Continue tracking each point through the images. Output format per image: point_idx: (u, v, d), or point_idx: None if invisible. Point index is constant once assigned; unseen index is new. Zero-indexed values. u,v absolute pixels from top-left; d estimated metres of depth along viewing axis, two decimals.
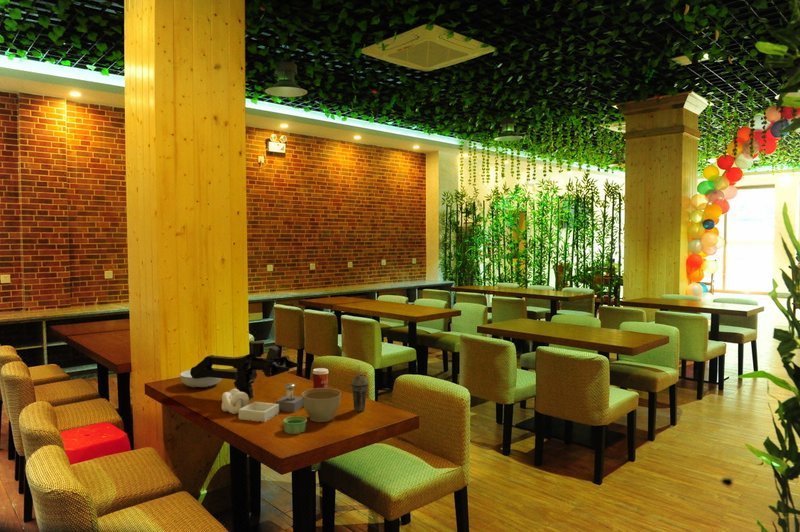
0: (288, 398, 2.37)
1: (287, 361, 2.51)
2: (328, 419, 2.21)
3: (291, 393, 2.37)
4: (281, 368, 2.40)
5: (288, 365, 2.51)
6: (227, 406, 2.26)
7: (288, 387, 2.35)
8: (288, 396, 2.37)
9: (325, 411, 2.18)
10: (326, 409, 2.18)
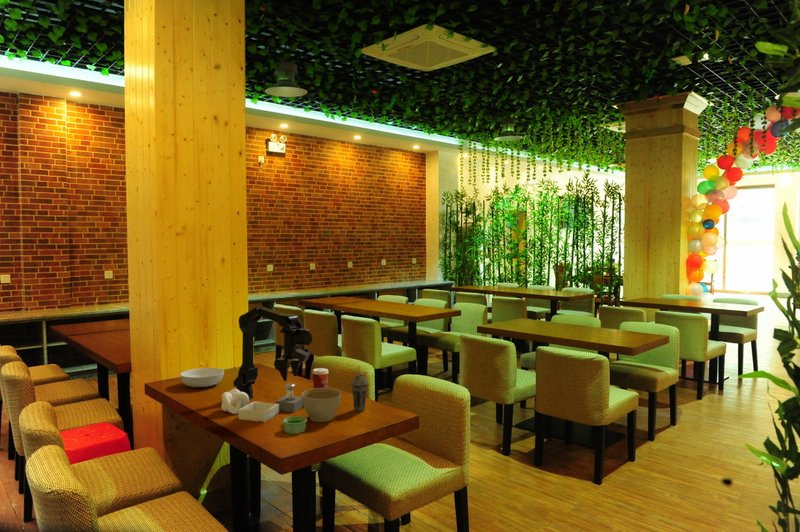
0: (288, 398, 2.37)
1: (297, 363, 2.42)
2: (328, 419, 2.21)
3: (291, 393, 2.37)
4: (284, 374, 2.32)
5: (293, 364, 2.42)
6: (227, 406, 2.26)
7: (288, 387, 2.35)
8: (288, 396, 2.37)
9: (325, 411, 2.18)
10: (326, 409, 2.18)
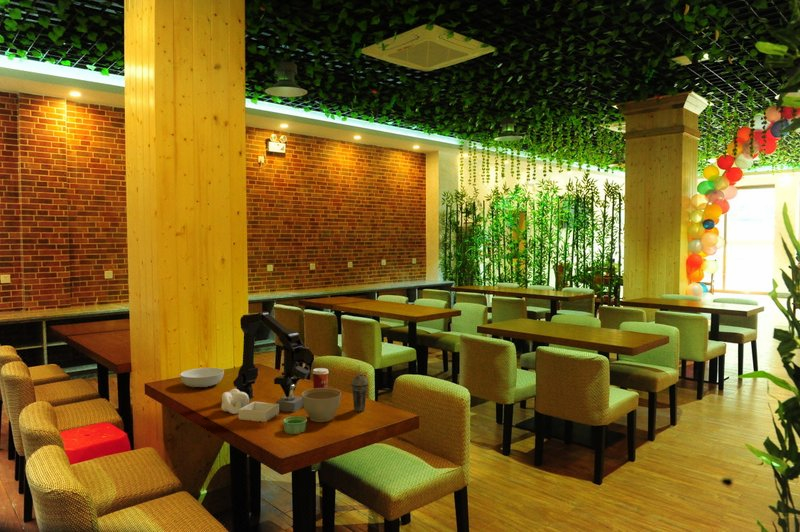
0: (288, 398, 2.37)
1: (295, 381, 2.40)
2: (328, 419, 2.21)
3: (291, 393, 2.37)
4: (287, 390, 2.35)
5: (291, 382, 2.40)
6: (227, 406, 2.26)
7: None
8: None
9: (325, 411, 2.18)
10: (326, 409, 2.18)
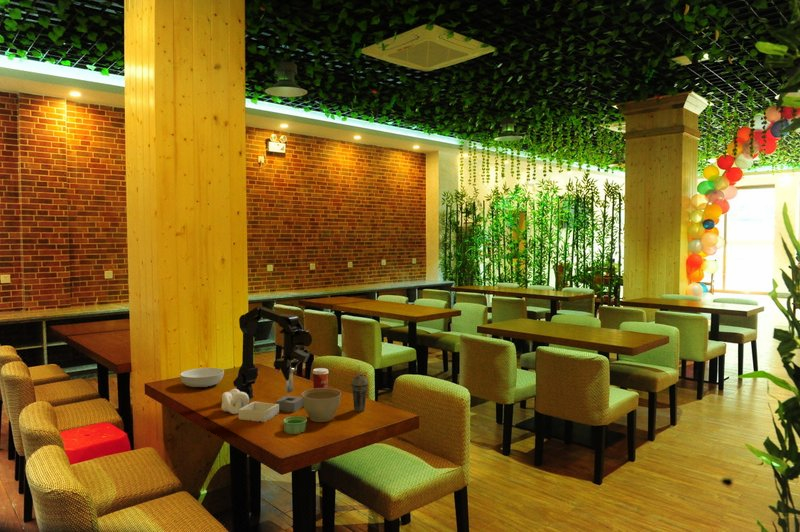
0: (288, 381, 2.36)
1: (294, 364, 2.39)
2: (328, 419, 2.21)
3: (291, 377, 2.36)
4: (286, 373, 2.34)
5: None
6: (227, 406, 2.26)
7: None
8: None
9: (325, 411, 2.18)
10: (326, 409, 2.18)
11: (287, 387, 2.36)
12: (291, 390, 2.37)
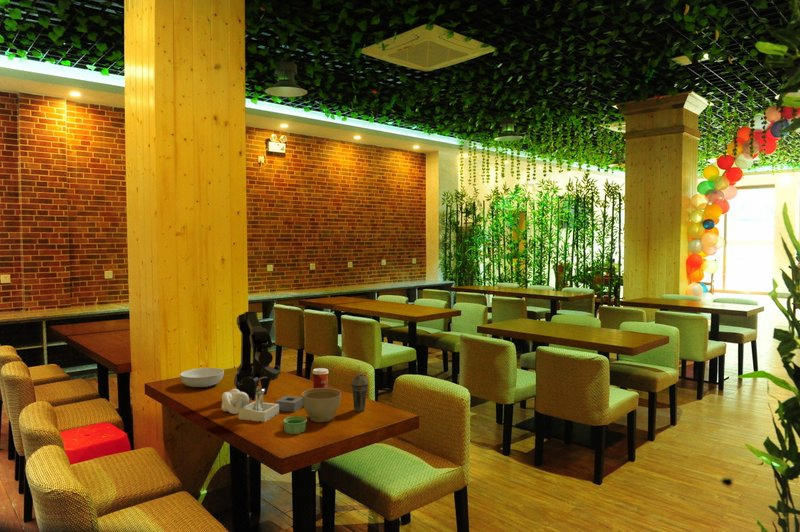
0: (257, 403, 2.25)
1: (267, 380, 2.31)
2: (328, 419, 2.21)
3: (261, 398, 2.25)
4: (253, 393, 2.21)
5: (263, 381, 2.31)
6: (227, 406, 2.26)
7: (257, 392, 2.24)
8: (257, 401, 2.25)
9: (325, 411, 2.18)
10: (326, 409, 2.18)
11: (256, 409, 2.25)
12: None
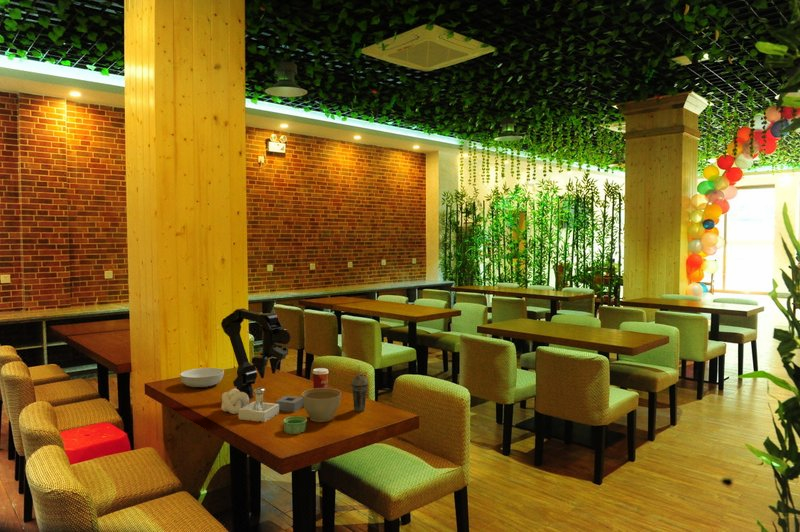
0: (257, 403, 2.25)
1: (276, 360, 2.48)
2: (328, 419, 2.21)
3: (260, 398, 2.25)
4: (262, 371, 2.38)
5: (272, 361, 2.48)
6: (227, 406, 2.26)
7: (257, 391, 2.24)
8: (257, 401, 2.25)
9: (325, 411, 2.18)
10: (326, 409, 2.18)
11: (256, 409, 2.25)
12: None
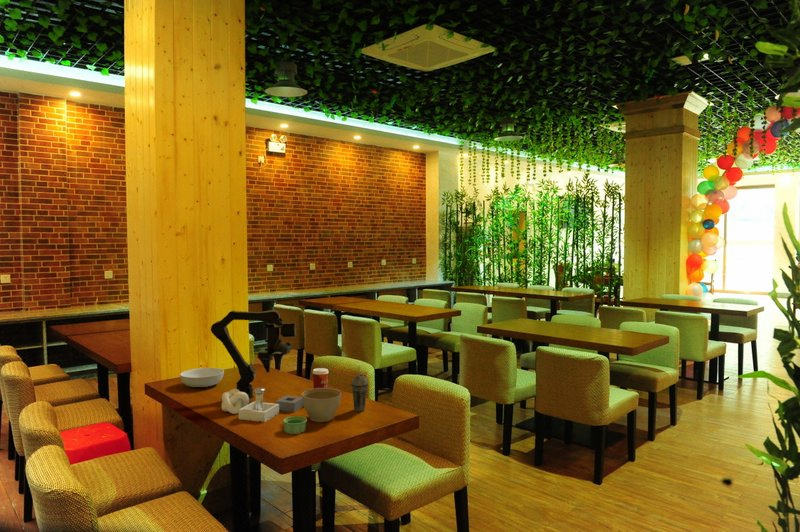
0: (257, 403, 2.25)
1: (280, 355, 2.57)
2: (328, 419, 2.21)
3: (260, 398, 2.25)
4: (267, 366, 2.47)
5: (276, 356, 2.58)
6: (227, 406, 2.26)
7: (257, 391, 2.24)
8: (257, 401, 2.25)
9: (325, 411, 2.18)
10: (326, 409, 2.18)
11: (256, 409, 2.25)
12: None
